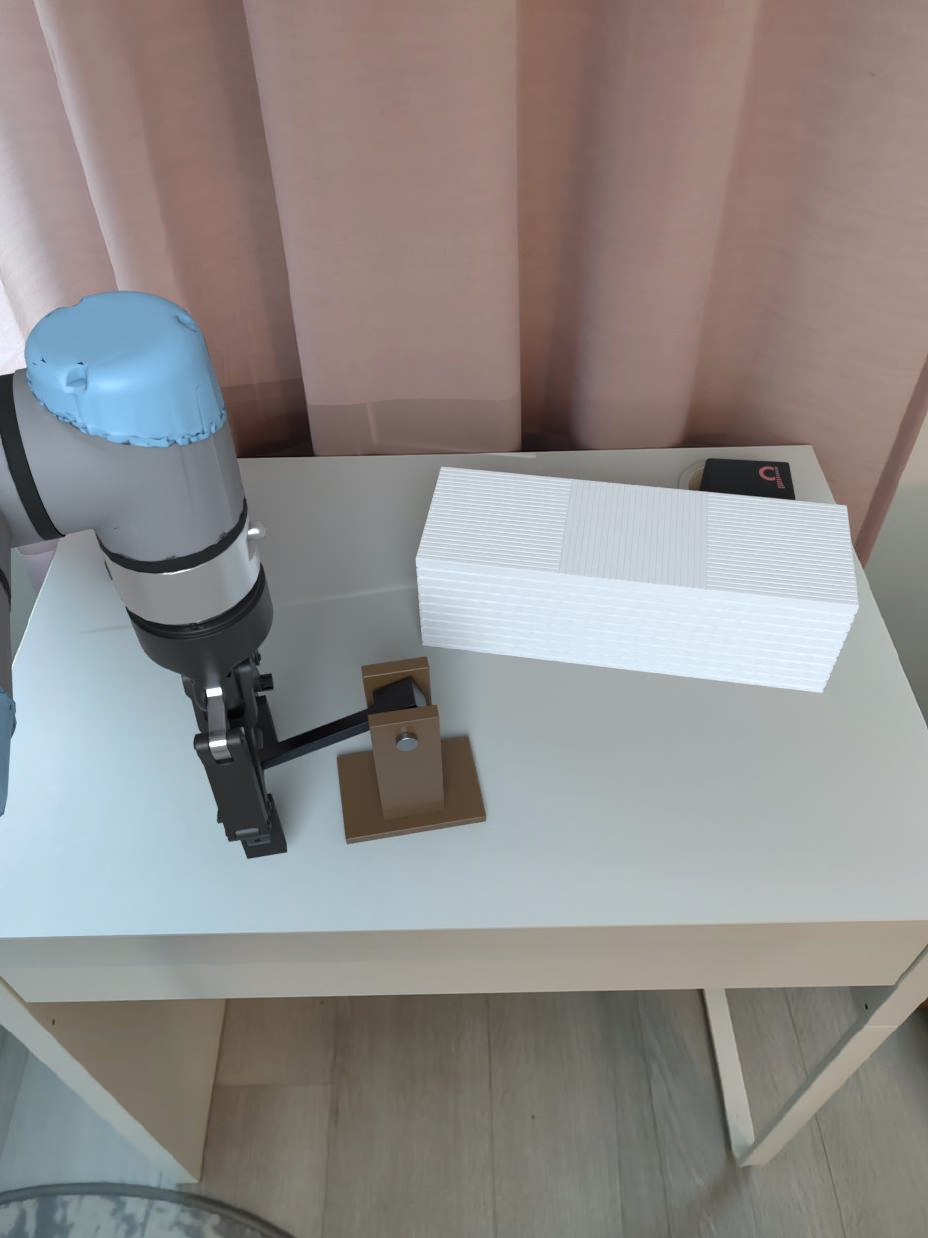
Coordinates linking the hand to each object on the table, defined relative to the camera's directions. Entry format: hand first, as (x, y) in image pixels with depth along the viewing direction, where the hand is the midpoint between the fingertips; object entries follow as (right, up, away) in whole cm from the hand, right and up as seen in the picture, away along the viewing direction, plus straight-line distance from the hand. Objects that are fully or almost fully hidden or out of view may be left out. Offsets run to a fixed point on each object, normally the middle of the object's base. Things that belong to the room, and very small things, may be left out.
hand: (264, 800), depth 70 cm
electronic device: (+39, +20, +20) cm, 48 cm away
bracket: (+10, 0, +3) cm, 11 cm away
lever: (+6, +5, -4) cm, 8 cm away
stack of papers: (+27, +12, +14) cm, 33 cm away
